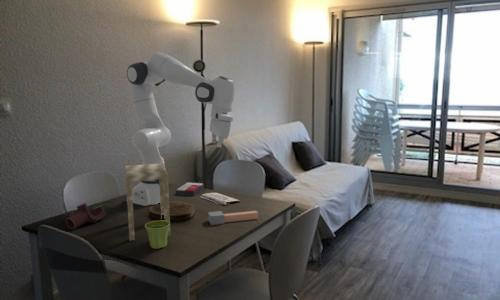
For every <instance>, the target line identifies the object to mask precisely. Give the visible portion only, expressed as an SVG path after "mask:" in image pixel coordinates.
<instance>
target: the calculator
mask: <svg viewBox="0 0 500 300" xmlns="http://www.w3.org/2000/svg"><path fill="white" fill-rule="evenodd" d="M204 190H205V184H204V183H200V182H186V183H185V184H183V185H181V186H180V187H177V188H176V190H175V195H176V196H183V197H184V196H187V197H195V196H196V195H198V194H199V193H201V192H204Z"/></svg>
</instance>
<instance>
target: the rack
mask: <svg viewBox="0 0 500 300" xmlns="http://www.w3.org/2000/svg"><path fill="white" fill-rule="evenodd" d="M164 164H165V163H164ZM164 164H163V163H161V164H145V165H143V164H131V165H130V164H129V165H125V184H126V185H125V186H126V200H127V201H126V203H127V205H126V206H127V218H128V219H127V220H128V221H127V222H128V234H129V235H128V237H129V242H130V241H131V242H132V240H133V241H135V240H136V238H135V237H136V236H135V221H134V220H135V218H134V203H133V199H132V189H133V184H132V182H141V181H142V180H155V179H159V183H160V204H159V205H160V220H161V219H162V215H164V219H165V221H168V222H170V223H171V214H170V212H171V210H170V196H169V195H170V191H169V190H170V189H169V188H170V187H169V173H168V171H167V169H166V165H165V166H164ZM168 237H171V224H170V225H169V228H168V236H167V238H168Z"/></svg>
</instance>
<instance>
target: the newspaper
mask: <svg viewBox="0 0 500 300" xmlns="http://www.w3.org/2000/svg"><path fill="white" fill-rule="evenodd" d="M200 198H202V199H205V200H208V201H211V202H214V203H215V204H218V205H223V206H227V205H231V204H230V203H233V202H239V201H240V202H242V200H239V199H238V198H237V199H236V198H234V197H232V196H231V197H230V196H228V195H225V194H222V193H219V192H207V193H203V194H201V196H200ZM227 202H228V203H227ZM240 202H239V203H240Z"/></svg>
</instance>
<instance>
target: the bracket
mask: <svg viewBox="0 0 500 300" xmlns="http://www.w3.org/2000/svg"><path fill="white" fill-rule="evenodd" d="M76 208H77V212H74V211H73V210H70V211H68V212H67V215H68V216H69V217H66V219H65V223H66V226H67V227H68V229H70V230H73V229H74V230H75V229H77V228H78V227H80V226H82V225H83V224H85V223H86V222H87V221H88V223H91V222H94V223H96V222H97V221H99V220H101V219H103V218H104V217H106V216H107V212H106V210H105V208H104V206H103V205H102V204H101V205H99V206H96V207H93V210H94V215H93V214H92V213H91V211H90V209H89V207H88V205H87V203H85V202H84V203H81V204H78V205H76Z"/></svg>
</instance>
